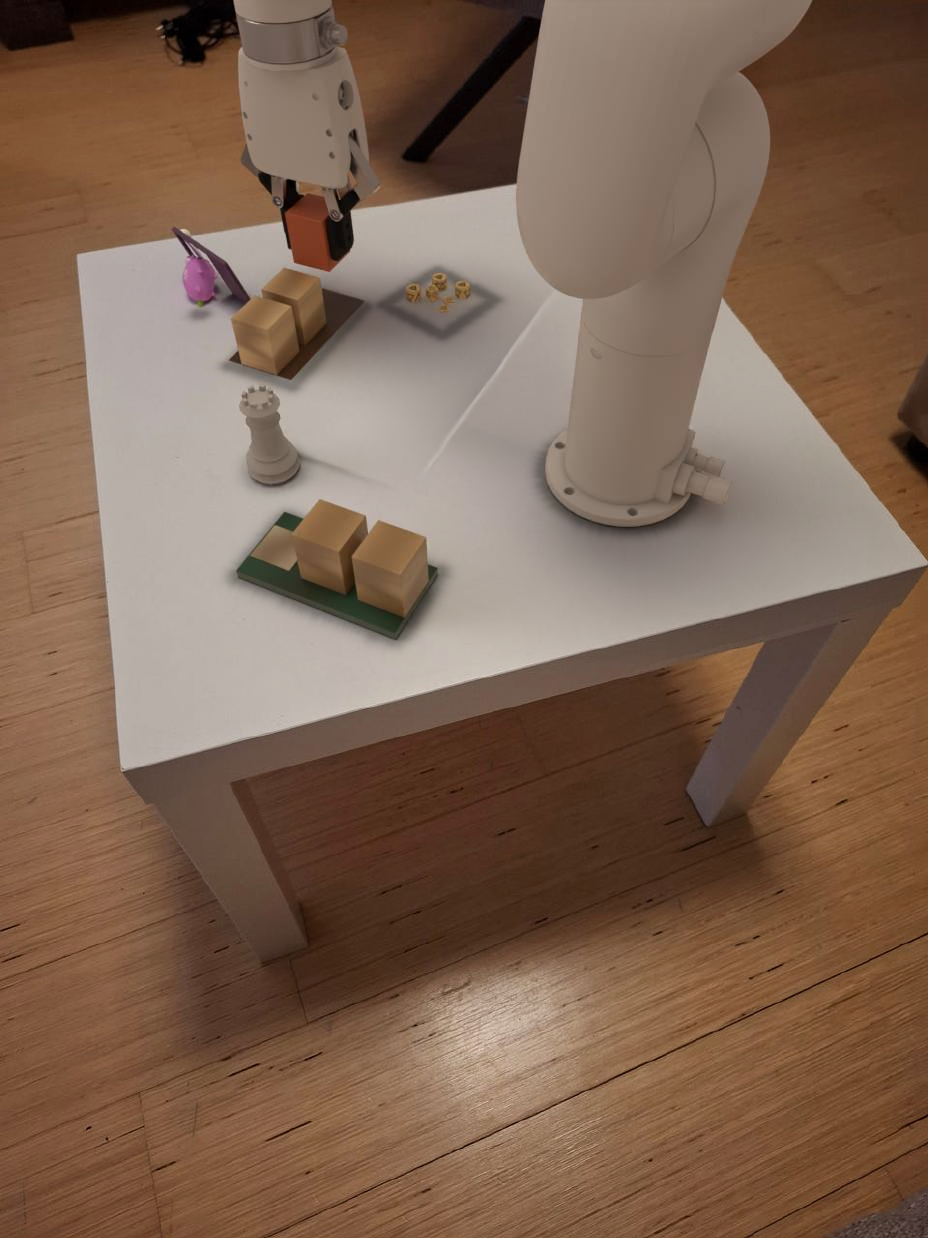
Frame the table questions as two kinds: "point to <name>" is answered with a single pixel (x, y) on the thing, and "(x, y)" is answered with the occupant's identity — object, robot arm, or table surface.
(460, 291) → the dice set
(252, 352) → the far board with cubes
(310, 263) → the orange upright block
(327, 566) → the green board with cubes
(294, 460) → the rook chess piece
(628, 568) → the table surface
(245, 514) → the table surface
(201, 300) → the dragon fruit figure
